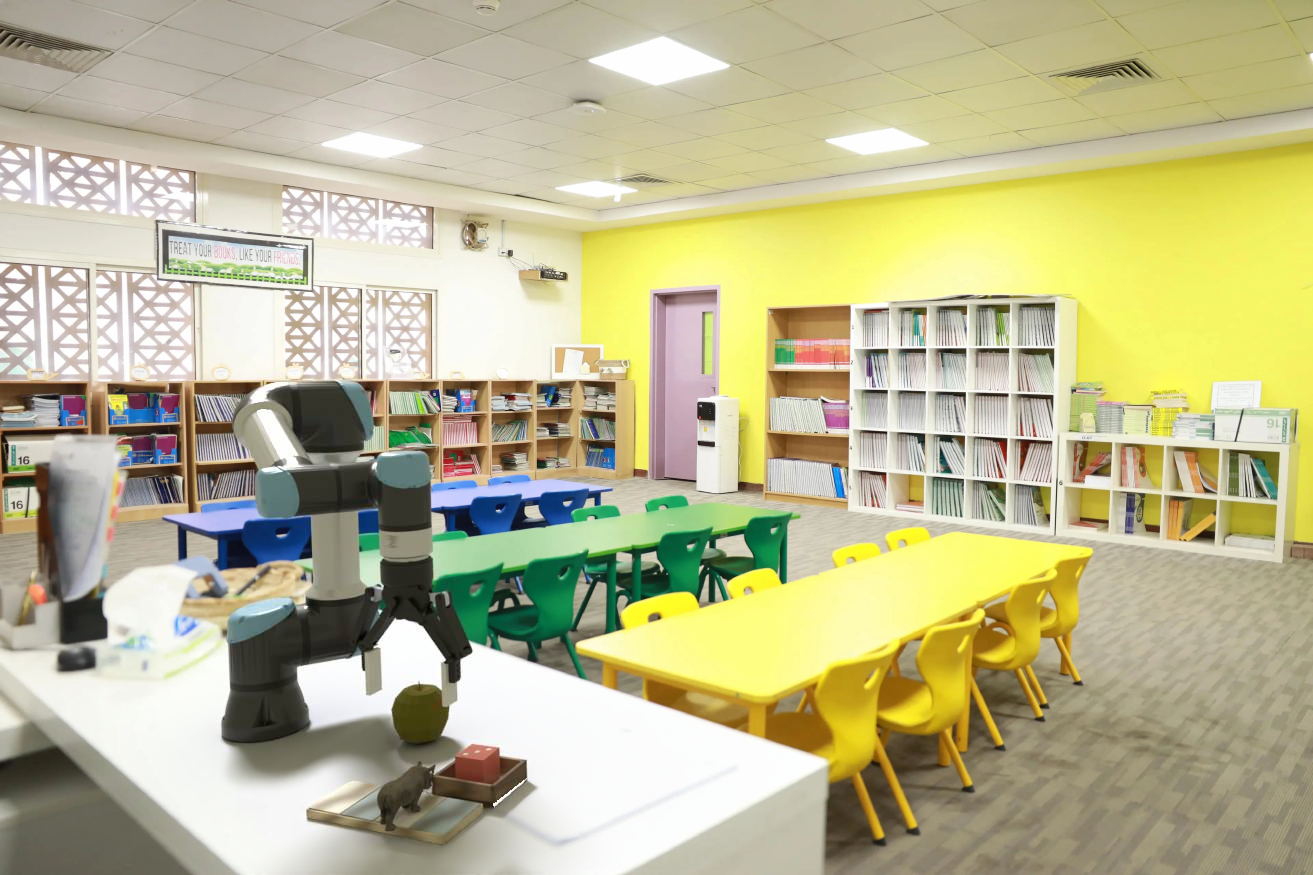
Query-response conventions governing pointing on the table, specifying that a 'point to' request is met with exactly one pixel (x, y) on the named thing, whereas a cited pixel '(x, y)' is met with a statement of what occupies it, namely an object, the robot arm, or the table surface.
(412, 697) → the apple
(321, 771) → the table surface
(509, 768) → the dice tray
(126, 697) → the table surface
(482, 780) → the die
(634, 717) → the table surface
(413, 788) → the rhino figurine
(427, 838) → the board
